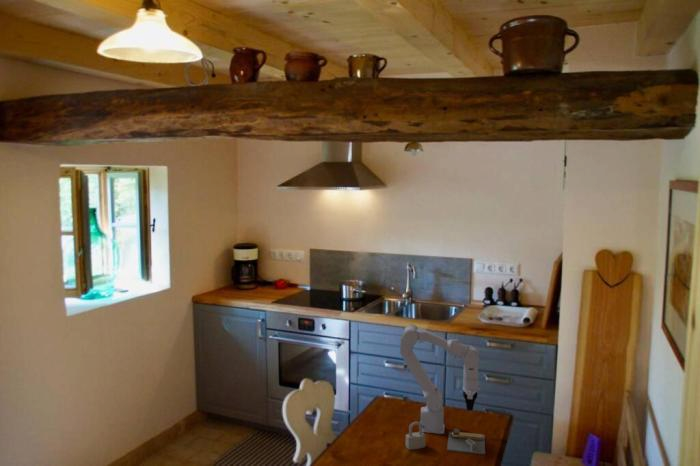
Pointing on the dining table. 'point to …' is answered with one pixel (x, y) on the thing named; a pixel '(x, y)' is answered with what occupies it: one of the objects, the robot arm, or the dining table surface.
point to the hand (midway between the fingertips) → (469, 409)
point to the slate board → (465, 445)
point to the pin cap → (456, 431)
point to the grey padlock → (415, 437)
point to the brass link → (467, 436)
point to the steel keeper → (471, 444)
